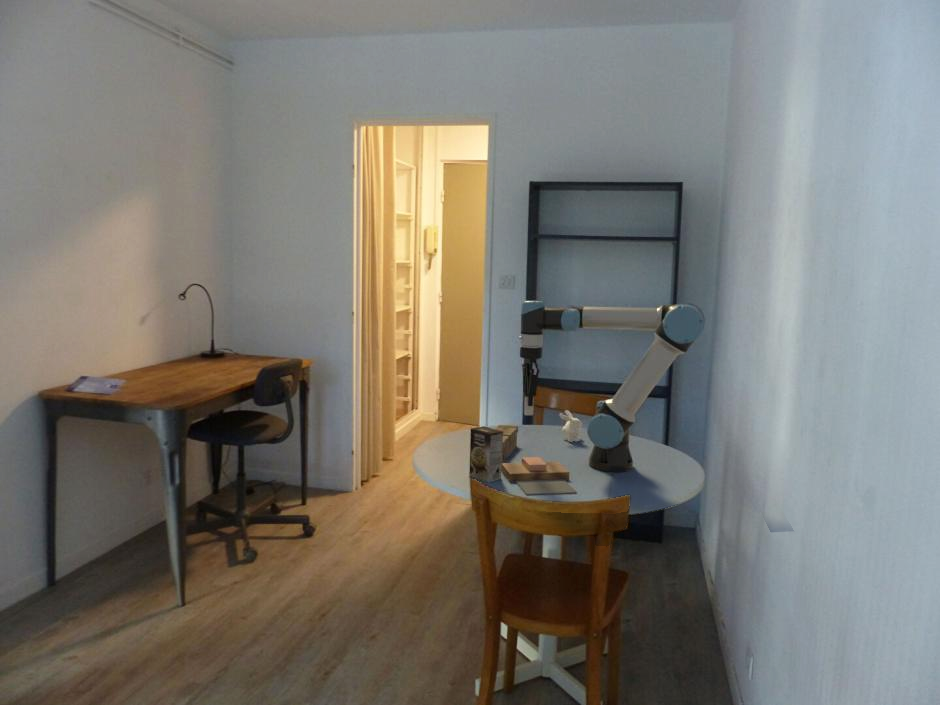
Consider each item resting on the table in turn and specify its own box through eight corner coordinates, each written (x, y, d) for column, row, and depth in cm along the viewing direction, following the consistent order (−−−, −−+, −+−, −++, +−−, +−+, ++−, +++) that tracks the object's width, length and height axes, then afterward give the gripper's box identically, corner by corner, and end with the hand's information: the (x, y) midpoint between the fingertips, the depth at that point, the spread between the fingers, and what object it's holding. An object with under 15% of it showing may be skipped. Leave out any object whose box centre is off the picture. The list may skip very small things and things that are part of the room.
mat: (563, 480, 227) (563, 479, 227) (576, 493, 214) (576, 492, 214) (515, 481, 224) (516, 480, 224) (526, 495, 211) (526, 493, 211)
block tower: (500, 468, 243) (518, 445, 270) (501, 444, 241) (519, 424, 269) (478, 465, 245) (498, 443, 272) (479, 442, 243) (499, 422, 271)
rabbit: (582, 443, 275) (584, 413, 274) (558, 442, 276) (560, 413, 274) (579, 436, 287) (580, 407, 286) (556, 435, 288) (557, 406, 286)
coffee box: (468, 476, 228) (469, 428, 226) (482, 472, 233) (483, 425, 231) (488, 483, 222) (489, 433, 220) (502, 479, 226) (503, 430, 224)
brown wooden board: (557, 469, 239) (558, 461, 239) (569, 479, 227) (569, 472, 227) (501, 470, 236) (501, 463, 235) (509, 481, 224) (509, 473, 224)
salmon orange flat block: (521, 463, 236) (522, 457, 236) (538, 462, 237) (539, 457, 237) (528, 470, 227) (529, 465, 227) (546, 470, 228) (546, 464, 228)
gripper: (515, 344, 242) (513, 410, 245) (525, 348, 229) (523, 419, 232) (536, 344, 243) (533, 410, 246) (547, 348, 230) (544, 418, 233)
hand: (528, 414), depth 239 cm, fingers closed
